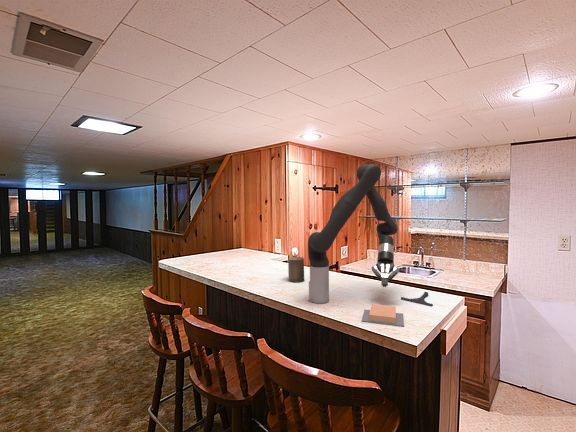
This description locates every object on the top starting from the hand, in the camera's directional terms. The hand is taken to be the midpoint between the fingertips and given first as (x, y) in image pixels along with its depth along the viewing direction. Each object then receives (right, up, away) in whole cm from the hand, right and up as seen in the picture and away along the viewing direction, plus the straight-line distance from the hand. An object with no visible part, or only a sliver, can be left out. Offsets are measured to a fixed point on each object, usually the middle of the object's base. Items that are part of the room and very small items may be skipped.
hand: (384, 286), depth 137 cm
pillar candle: (-39, -7, +46) cm, 61 cm away
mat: (-5, -10, -13) cm, 17 cm away
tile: (-2, -8, -6) cm, 10 cm away
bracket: (+21, -9, +10) cm, 25 cm away
